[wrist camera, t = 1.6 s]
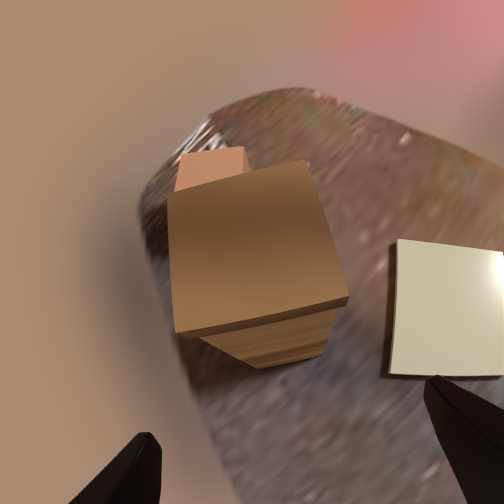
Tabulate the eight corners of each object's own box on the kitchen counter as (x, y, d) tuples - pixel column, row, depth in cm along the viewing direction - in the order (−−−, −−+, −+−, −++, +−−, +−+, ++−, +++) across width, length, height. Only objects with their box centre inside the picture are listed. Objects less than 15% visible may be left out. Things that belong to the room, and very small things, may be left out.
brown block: (324, 356, 21) (349, 295, 8) (255, 371, 21) (175, 332, 8) (309, 292, 23) (304, 159, 10) (244, 306, 23) (167, 193, 11)
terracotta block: (253, 235, 26) (241, 199, 21) (194, 239, 26) (171, 206, 22) (254, 185, 28) (243, 146, 23) (200, 190, 29) (181, 154, 24)
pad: (503, 375, 17) (507, 374, 16) (388, 373, 19) (390, 373, 19) (499, 255, 21) (502, 252, 20) (395, 242, 23) (397, 238, 23)
